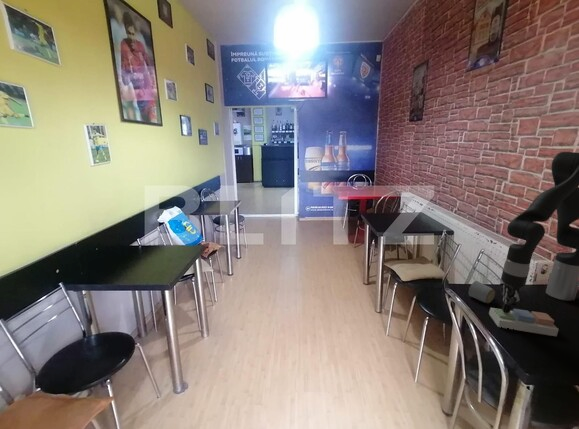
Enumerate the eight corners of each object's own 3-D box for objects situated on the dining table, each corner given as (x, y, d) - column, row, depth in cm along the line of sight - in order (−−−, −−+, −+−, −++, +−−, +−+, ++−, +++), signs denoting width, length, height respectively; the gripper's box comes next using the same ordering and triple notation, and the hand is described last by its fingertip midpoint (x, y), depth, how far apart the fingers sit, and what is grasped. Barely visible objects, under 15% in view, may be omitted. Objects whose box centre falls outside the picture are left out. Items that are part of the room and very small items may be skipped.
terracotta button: (544, 319, 113) (546, 313, 112) (552, 327, 108) (554, 320, 107) (529, 317, 114) (531, 311, 113) (536, 324, 109) (538, 318, 109)
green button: (507, 316, 116) (509, 310, 115) (513, 323, 111) (515, 317, 111) (493, 314, 117) (495, 308, 116) (499, 321, 113) (500, 315, 112)
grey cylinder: (486, 306, 125) (490, 290, 123) (466, 297, 132) (470, 282, 130) (497, 300, 131) (501, 285, 129) (478, 292, 137) (481, 277, 135)
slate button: (526, 316, 114) (528, 310, 114) (533, 324, 110) (534, 318, 109) (511, 314, 115) (513, 308, 115) (517, 322, 111) (519, 315, 110)
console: (542, 322, 115) (544, 315, 114) (556, 336, 107) (558, 329, 106) (489, 313, 120) (490, 307, 119) (498, 327, 111) (499, 320, 110)
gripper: (536, 281, 102) (525, 323, 106) (518, 265, 114) (508, 304, 119) (512, 278, 104) (501, 319, 108) (496, 263, 116) (488, 301, 121)
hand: (505, 311), depth 113 cm, fingers closed
